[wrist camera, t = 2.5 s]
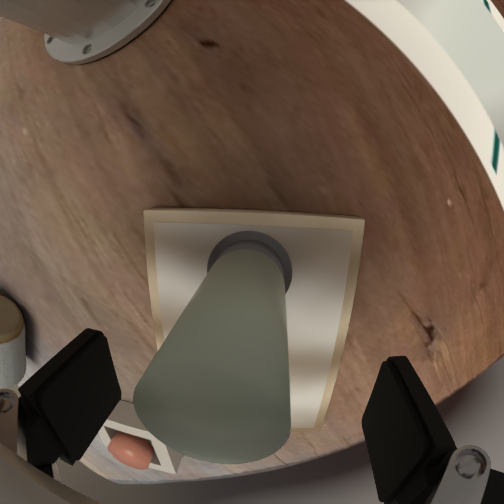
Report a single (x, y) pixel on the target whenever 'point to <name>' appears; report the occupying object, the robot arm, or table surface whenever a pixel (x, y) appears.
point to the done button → (131, 450)
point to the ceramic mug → (11, 344)
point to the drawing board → (295, 277)
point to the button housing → (130, 423)
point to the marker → (224, 364)
